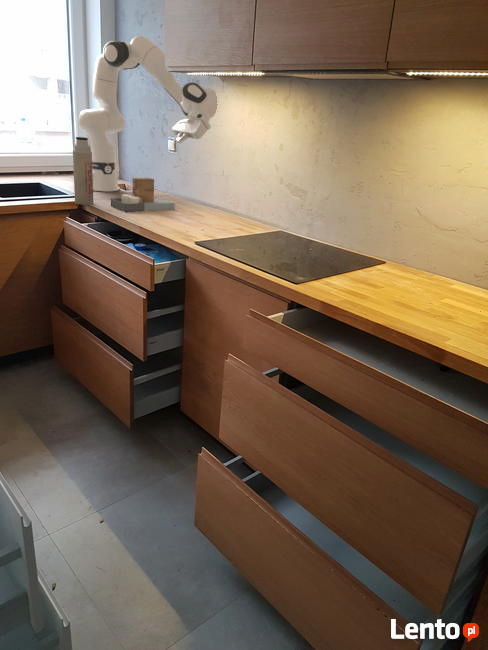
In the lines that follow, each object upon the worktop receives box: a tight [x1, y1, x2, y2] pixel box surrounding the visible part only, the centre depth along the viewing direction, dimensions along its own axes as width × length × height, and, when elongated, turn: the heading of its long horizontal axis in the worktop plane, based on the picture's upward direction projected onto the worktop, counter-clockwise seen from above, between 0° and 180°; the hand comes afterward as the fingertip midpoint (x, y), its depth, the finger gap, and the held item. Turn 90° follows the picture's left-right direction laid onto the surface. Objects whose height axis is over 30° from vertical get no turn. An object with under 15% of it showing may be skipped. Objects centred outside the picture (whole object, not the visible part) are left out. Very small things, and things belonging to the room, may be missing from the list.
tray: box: [110, 197, 145, 213], centre depth 219 cm, size 13×10×4 cm
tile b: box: [128, 196, 139, 204], centre depth 218 cm, size 5×5×2 cm
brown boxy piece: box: [126, 177, 155, 203], centre depth 221 cm, size 12×9×10 cm
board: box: [143, 197, 176, 212], centre depth 228 cm, size 12×16×3 cm
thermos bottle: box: [72, 136, 94, 206], centre depth 217 cm, size 8×8×28 cm
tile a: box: [121, 193, 130, 204], centre depth 221 cm, size 5×5×2 cm
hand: (177, 141), depth 224 cm, fingers closed
